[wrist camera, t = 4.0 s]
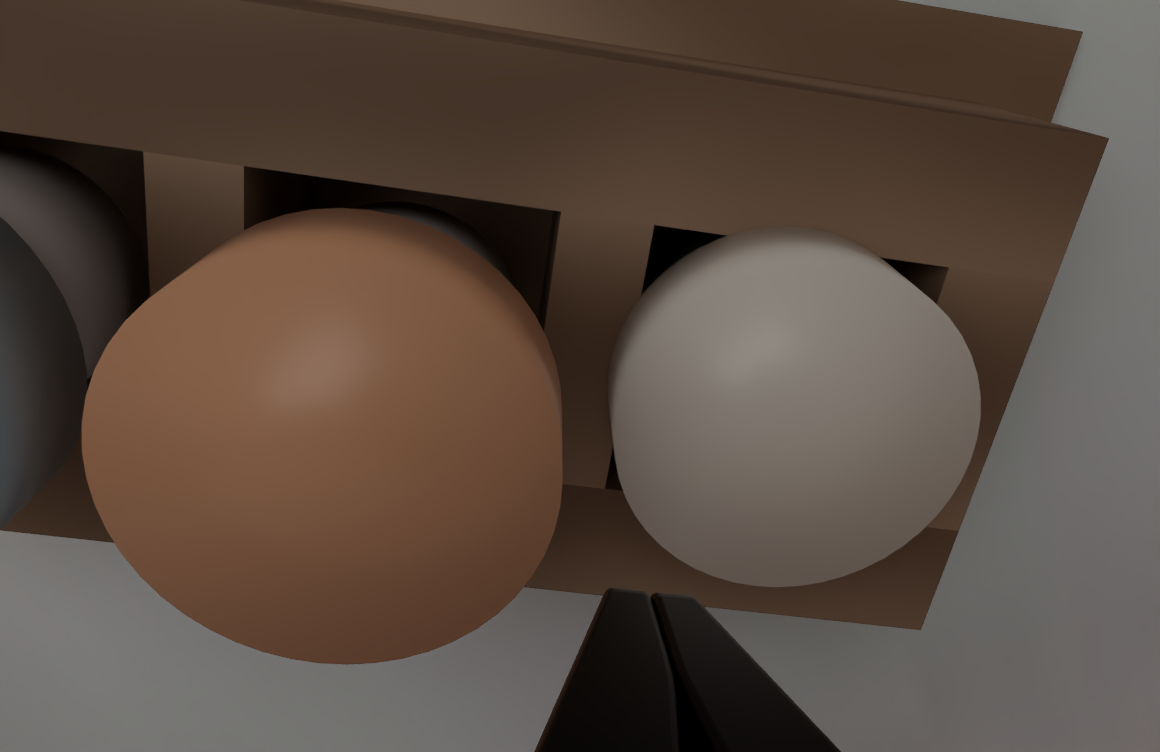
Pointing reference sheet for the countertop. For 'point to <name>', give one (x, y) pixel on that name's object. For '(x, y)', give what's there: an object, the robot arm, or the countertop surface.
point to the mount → (586, 183)
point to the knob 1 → (55, 310)
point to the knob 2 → (787, 405)
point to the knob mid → (332, 435)
